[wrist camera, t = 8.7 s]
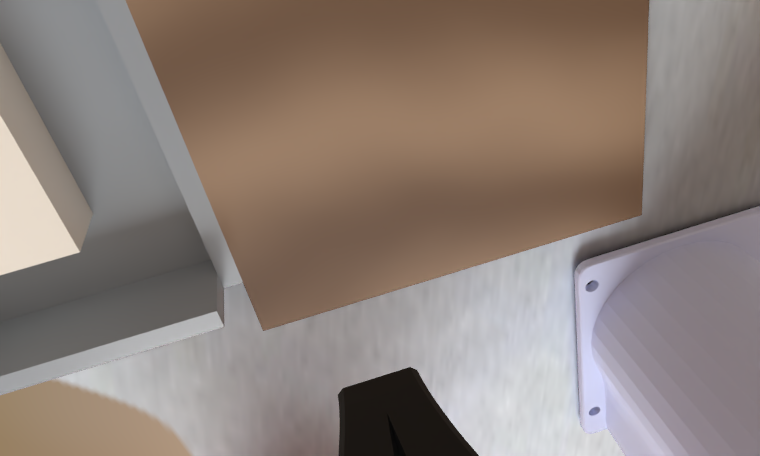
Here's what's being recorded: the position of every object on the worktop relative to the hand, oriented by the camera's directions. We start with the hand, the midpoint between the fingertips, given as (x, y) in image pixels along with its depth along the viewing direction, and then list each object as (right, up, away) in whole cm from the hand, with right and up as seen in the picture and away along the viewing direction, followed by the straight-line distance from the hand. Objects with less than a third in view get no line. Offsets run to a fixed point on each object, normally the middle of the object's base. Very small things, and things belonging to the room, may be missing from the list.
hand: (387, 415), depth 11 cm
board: (+1, +9, +6) cm, 11 cm away
